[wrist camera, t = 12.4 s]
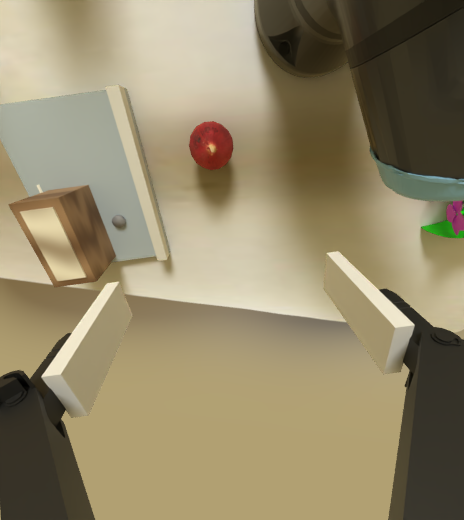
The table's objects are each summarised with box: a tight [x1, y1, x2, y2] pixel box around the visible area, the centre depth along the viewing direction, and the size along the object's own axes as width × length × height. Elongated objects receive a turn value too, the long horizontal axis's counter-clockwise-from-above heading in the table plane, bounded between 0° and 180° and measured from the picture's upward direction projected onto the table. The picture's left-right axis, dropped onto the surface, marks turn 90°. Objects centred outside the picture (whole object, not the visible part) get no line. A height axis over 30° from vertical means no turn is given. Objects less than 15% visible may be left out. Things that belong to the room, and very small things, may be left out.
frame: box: [9, 185, 116, 287], centre depth 36 cm, size 12×6×8 cm, turn 7°
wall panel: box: [0, 85, 170, 262], centre depth 36 cm, size 24×18×3 cm
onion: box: [189, 121, 233, 170], centre depth 33 cm, size 6×6×8 cm
